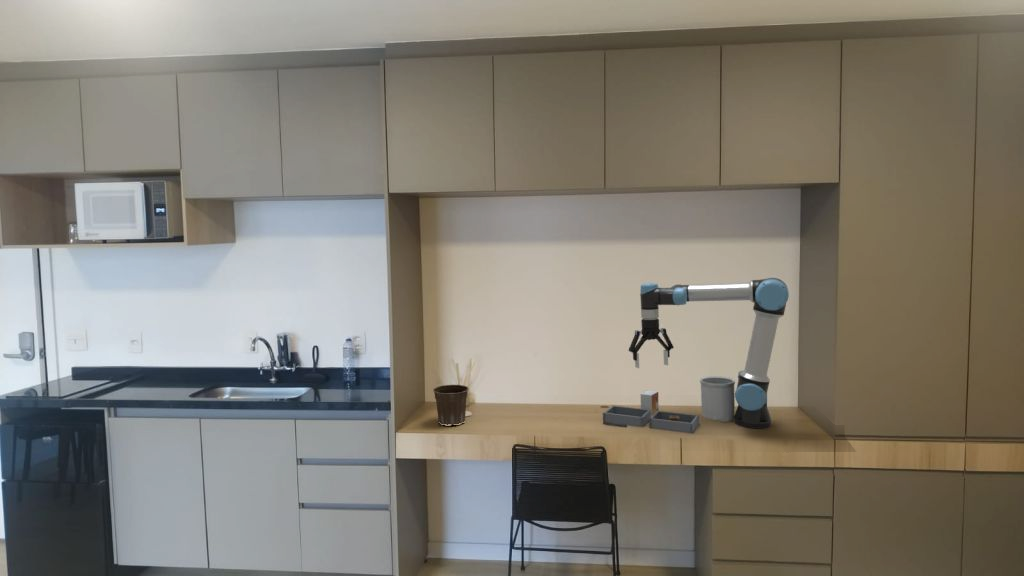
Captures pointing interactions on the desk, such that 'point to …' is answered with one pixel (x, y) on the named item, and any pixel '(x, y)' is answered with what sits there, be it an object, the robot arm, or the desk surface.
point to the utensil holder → (718, 398)
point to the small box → (650, 401)
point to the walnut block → (674, 418)
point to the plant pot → (451, 403)
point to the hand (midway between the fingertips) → (651, 366)
